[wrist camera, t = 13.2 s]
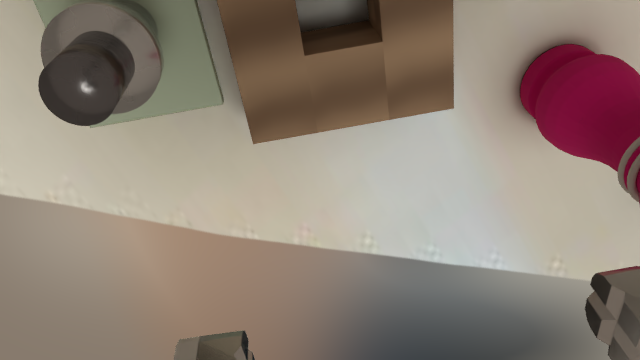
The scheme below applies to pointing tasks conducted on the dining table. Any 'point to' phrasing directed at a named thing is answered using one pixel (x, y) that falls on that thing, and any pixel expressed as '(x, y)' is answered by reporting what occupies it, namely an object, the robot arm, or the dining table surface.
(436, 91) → the block
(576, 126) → the pepper mill
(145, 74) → the flanged metal shaft
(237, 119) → the dining table surface
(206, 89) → the mat
